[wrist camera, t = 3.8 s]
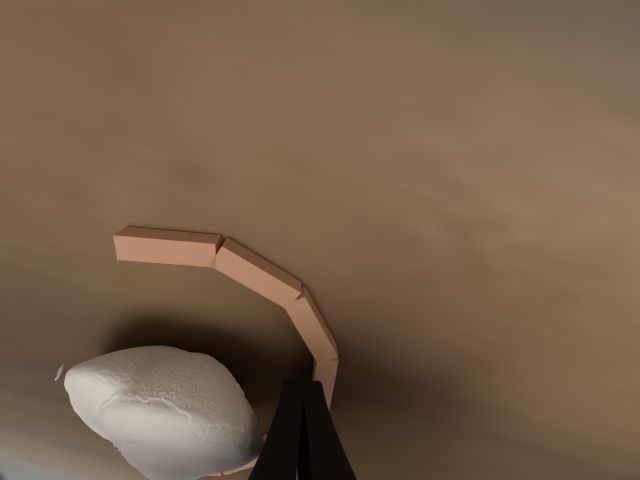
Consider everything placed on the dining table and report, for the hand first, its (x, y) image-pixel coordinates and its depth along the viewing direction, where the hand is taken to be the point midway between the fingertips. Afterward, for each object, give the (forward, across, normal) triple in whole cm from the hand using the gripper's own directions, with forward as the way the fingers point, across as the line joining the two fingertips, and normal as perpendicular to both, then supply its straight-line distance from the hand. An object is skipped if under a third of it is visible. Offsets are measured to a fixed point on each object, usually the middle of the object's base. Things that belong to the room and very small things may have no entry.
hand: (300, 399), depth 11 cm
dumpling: (+2, +4, 0) cm, 5 cm away
